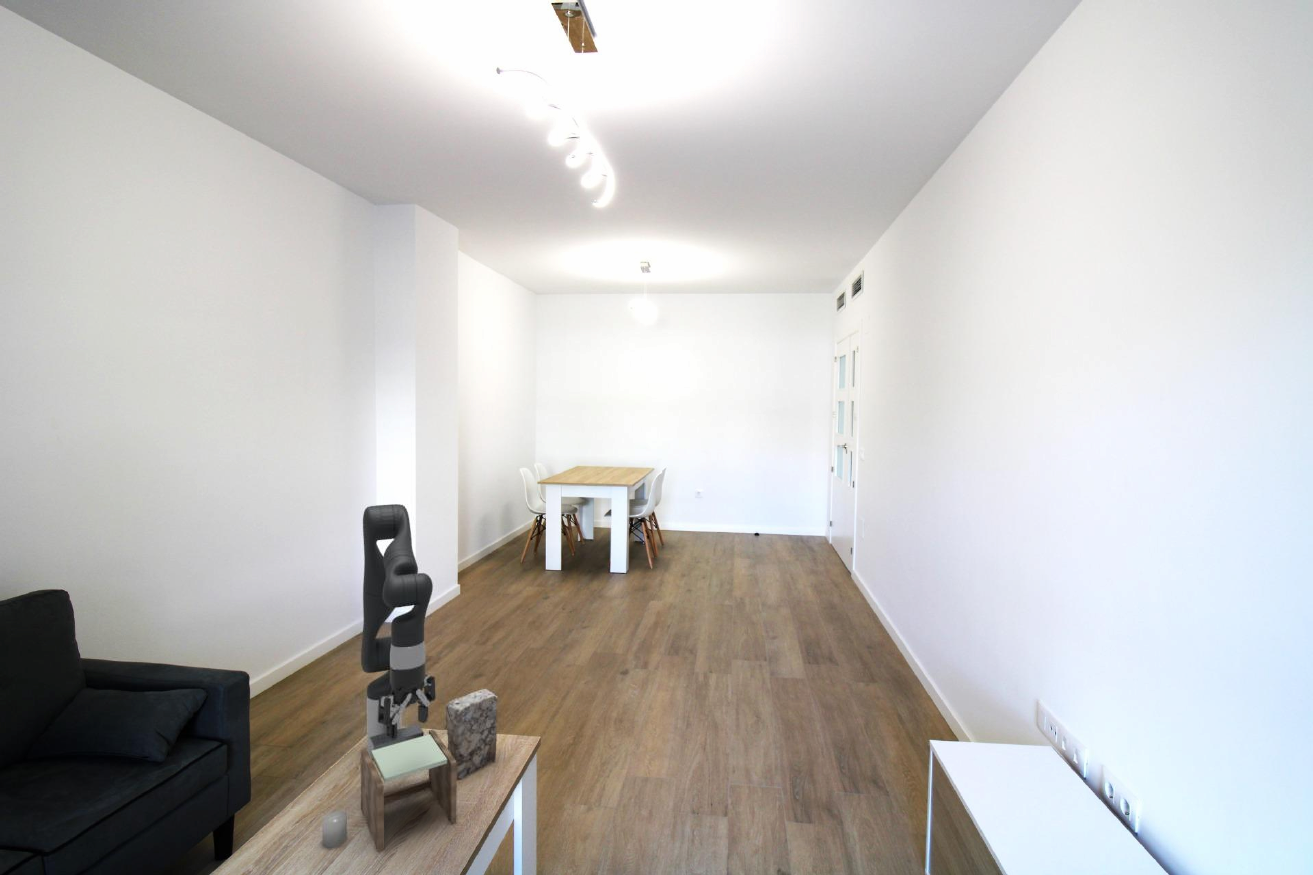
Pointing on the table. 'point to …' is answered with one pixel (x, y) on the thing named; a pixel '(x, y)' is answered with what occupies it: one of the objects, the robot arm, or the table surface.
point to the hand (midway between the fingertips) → (407, 729)
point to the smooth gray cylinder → (334, 829)
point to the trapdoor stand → (406, 791)
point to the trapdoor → (405, 753)
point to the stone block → (472, 731)
